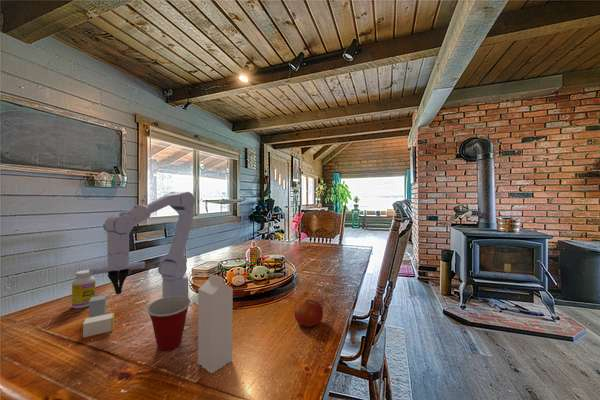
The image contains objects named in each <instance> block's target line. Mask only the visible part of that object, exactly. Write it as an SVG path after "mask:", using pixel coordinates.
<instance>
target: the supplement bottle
mask: <svg viewBox="0 0 600 400" xmlns="http://www.w3.org/2000/svg"><path fill="white" fill-rule="evenodd" d="M75 277H76V278H75V279H73V280H72V282H71V289H72V290H71V307H72V308H73V309H85V308H87V307H88V308H89V301H90V299H91V297H96V278H95V276H93V275H91V276H89V269H84V270H80V271H76V273H75Z"/></svg>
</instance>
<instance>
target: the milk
mask: <svg viewBox="0 0 600 400" xmlns="http://www.w3.org/2000/svg"><path fill="white" fill-rule="evenodd" d="M233 288H234V287H232V286H231V285H230V286H229V285H227V284H224V278H223V277H221V276H218V275H216V274H212V273H209V274H208V279H207V280H206V281H205V282H204V283H203V284H202V285H201V286H200V287H199V288H198V290H197V291H198V293H197V296H198V297H197V298H198V300H197V301H198V302H197V305H198V306H197V313H198V314H197V364H198V365H199V366H200V365H201V366H202V367H201V366H200V367H201V368H202V369H204V368H205V369H206V370H207V371H206V372H208V373H209V372H210V373H211V374H210V373H209V374H210V375H213V374H214V373H216V372H217V370H218V369H219V370H221V369H222V368H224V367H226V366H227V365H228V364H230V363H231V362H232V361H233V296H234V294H233V291H234V289H233ZM229 362H230V363H229ZM227 363H228V364H227ZM226 364H227V365H226ZM223 366H224V367H223ZM220 368H221V369H220ZM205 369H204V370H205ZM219 370H218V371H219ZM215 371H216V372H215ZM212 373H213V374H212Z"/></svg>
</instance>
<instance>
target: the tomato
mask: <svg viewBox="0 0 600 400" xmlns="http://www.w3.org/2000/svg"><path fill="white" fill-rule="evenodd" d="M323 314H324V310H323V306H322V305H321V303H320V302H318V301H317V300H313V299H310V298H306V299H304V300H301V301H299V303H297V305H296V306H295V309H294V319H295V321H296V322H297V324H298V325H300V326H302V327H303V326H304V327H313V326H316V325H319V324H320V322H322V320H323V317H324V315H323Z"/></svg>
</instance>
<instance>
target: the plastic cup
mask: <svg viewBox="0 0 600 400" xmlns="http://www.w3.org/2000/svg"><path fill="white" fill-rule="evenodd" d="M191 302H192V301H191V299H190V297H189V296H188V297H186V296H179V295H178V296H168V297H164V298H161V297H160V298H159V299H156V300H154V301H152V302H151V303H150V304H148V306H147V307H146V312H147V313H148V314H149V316H150V319H151V320H150V321H151V323H152V328H153V334H154V339H155V343H156V347H157V349H158V351H160V352H170V351H173V350H175V349H177V348H178V347H179V346H180V345H181V342H182V340H183V335H184V334H183V333H184V331H185V324H186V318H187V313H188V310H189V306H190V304H191Z"/></svg>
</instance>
